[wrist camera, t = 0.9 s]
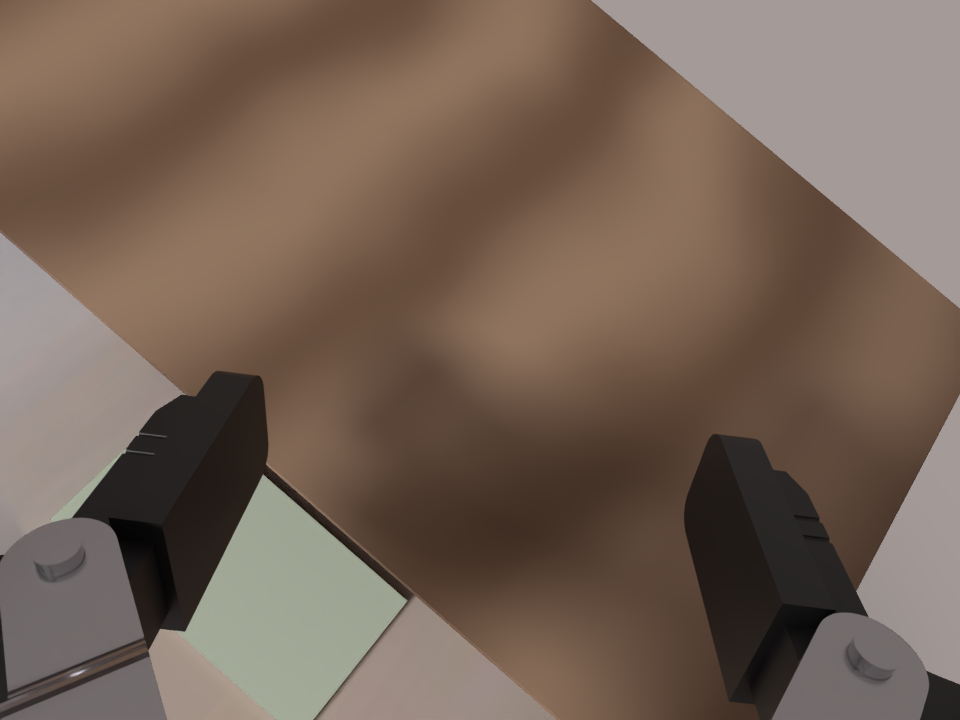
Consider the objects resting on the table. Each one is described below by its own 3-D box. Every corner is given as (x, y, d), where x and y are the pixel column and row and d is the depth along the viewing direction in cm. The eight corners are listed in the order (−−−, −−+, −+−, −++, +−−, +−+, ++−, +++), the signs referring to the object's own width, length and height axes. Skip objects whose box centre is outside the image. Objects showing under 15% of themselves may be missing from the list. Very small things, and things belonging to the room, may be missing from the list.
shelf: (95, 328, 36) (-240, 19, 15) (307, 147, 41) (275, -263, 20) (493, 676, 35) (716, 856, 14) (656, 446, 40) (991, 334, 20)
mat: (54, 519, 33) (50, 519, 32) (179, 401, 36) (177, 399, 35) (298, 736, 32) (297, 739, 32) (406, 600, 35) (407, 600, 35)
